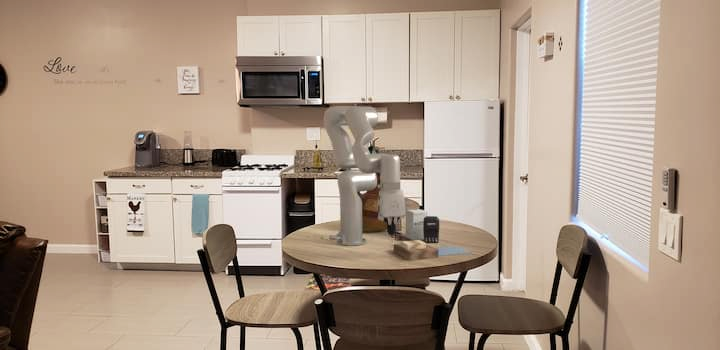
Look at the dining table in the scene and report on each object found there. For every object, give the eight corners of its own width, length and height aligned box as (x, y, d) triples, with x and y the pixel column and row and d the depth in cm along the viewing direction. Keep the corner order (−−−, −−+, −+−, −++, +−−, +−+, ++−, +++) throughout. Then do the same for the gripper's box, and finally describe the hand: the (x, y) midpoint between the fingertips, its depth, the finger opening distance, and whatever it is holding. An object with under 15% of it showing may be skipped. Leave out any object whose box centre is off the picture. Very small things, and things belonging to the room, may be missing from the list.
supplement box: (412, 240, 242) (412, 212, 241) (405, 237, 249) (405, 209, 248) (427, 239, 245) (427, 211, 243) (419, 235, 252) (419, 208, 250)
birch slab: (407, 249, 213) (407, 244, 212) (400, 246, 218) (400, 241, 218) (425, 248, 216) (425, 243, 215) (418, 244, 221) (418, 239, 221)
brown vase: (389, 235, 253) (389, 170, 250) (346, 234, 256) (345, 170, 253) (393, 226, 273) (393, 166, 269) (353, 225, 276) (353, 166, 273)
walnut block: (410, 260, 208) (410, 252, 208) (393, 251, 222) (393, 244, 222) (438, 257, 213) (438, 249, 213) (420, 248, 227) (420, 241, 226)
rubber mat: (437, 256, 214) (437, 255, 214) (422, 249, 226) (422, 248, 226) (471, 252, 220) (471, 251, 220) (455, 246, 231) (455, 245, 231)
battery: (423, 243, 237) (423, 217, 235) (422, 241, 240) (423, 215, 239) (439, 243, 236) (440, 217, 235) (438, 241, 240) (439, 215, 239)
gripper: (376, 188, 204) (377, 237, 206) (412, 186, 210) (413, 234, 211) (368, 187, 211) (369, 234, 213) (403, 185, 217) (404, 231, 218)
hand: (391, 234), depth 212 cm, fingers closed
